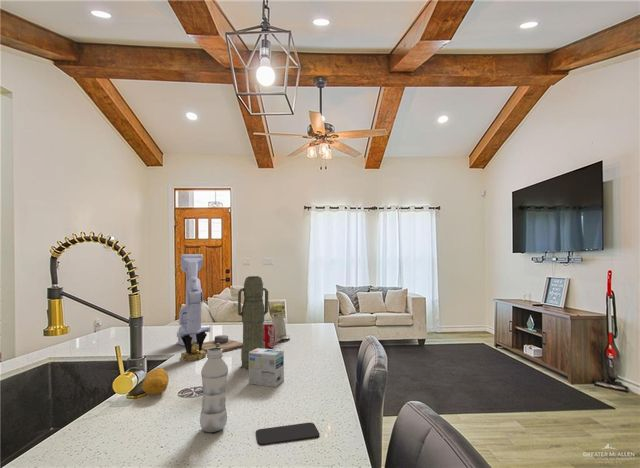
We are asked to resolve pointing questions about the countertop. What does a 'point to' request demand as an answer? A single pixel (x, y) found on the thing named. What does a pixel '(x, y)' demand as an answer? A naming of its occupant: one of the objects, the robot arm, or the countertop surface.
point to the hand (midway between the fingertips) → (193, 351)
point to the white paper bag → (279, 321)
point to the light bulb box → (266, 367)
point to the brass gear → (194, 353)
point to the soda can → (268, 335)
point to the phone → (287, 433)
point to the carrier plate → (222, 344)
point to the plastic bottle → (214, 392)
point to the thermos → (252, 316)
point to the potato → (155, 381)
